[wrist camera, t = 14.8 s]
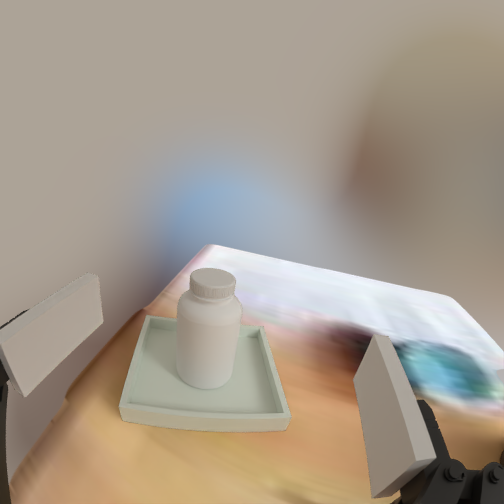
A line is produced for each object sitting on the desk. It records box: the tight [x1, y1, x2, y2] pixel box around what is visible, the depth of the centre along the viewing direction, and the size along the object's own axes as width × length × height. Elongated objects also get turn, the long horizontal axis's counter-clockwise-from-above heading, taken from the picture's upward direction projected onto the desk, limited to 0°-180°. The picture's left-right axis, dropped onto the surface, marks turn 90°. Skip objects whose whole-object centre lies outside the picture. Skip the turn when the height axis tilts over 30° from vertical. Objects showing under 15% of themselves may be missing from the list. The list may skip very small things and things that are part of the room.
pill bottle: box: [176, 268, 242, 389], centre depth 34 cm, size 8×8×15 cm
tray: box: [119, 315, 292, 432], centre depth 36 cm, size 20×20×3 cm
